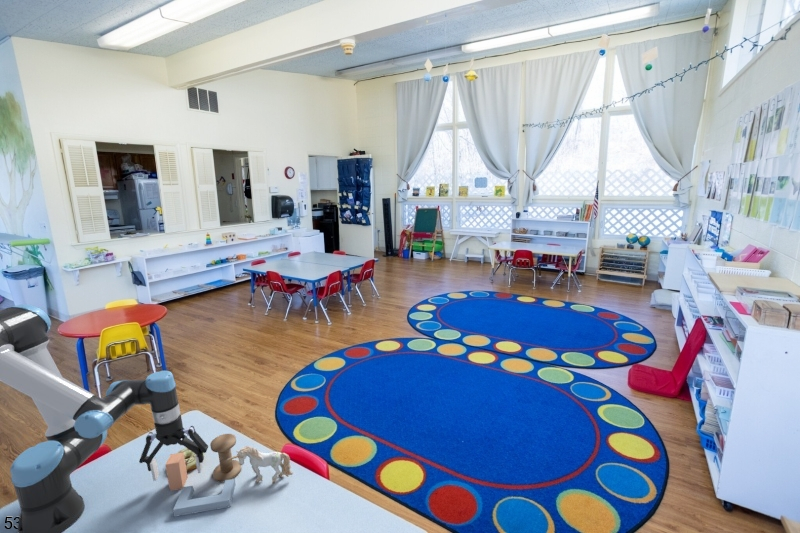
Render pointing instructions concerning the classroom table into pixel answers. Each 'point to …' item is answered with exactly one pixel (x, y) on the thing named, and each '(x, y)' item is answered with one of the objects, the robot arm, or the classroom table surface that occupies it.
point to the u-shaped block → (204, 500)
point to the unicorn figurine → (265, 461)
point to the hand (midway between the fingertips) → (178, 474)
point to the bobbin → (225, 458)
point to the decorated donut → (189, 459)
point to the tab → (176, 471)
